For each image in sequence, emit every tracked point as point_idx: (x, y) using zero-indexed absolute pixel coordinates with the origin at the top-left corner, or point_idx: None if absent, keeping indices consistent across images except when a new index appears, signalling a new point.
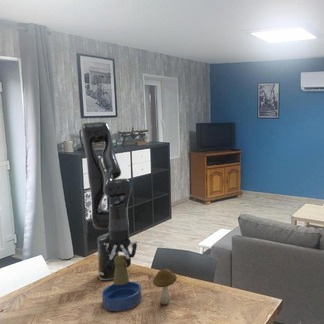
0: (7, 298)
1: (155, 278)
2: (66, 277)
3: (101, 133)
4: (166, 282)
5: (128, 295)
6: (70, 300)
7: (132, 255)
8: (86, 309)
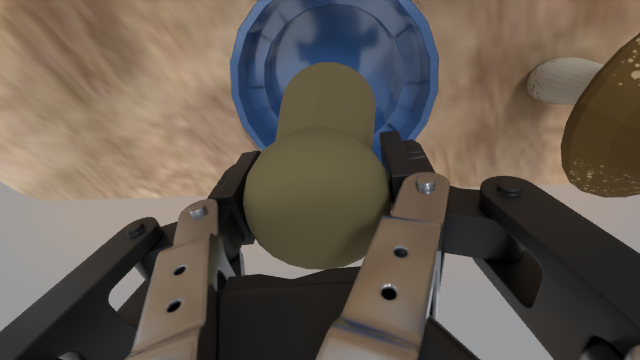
0: None
1: (601, 163)
2: None
3: None
4: None
5: (343, 20)
6: (100, 78)
7: (498, 263)
8: (218, 137)
